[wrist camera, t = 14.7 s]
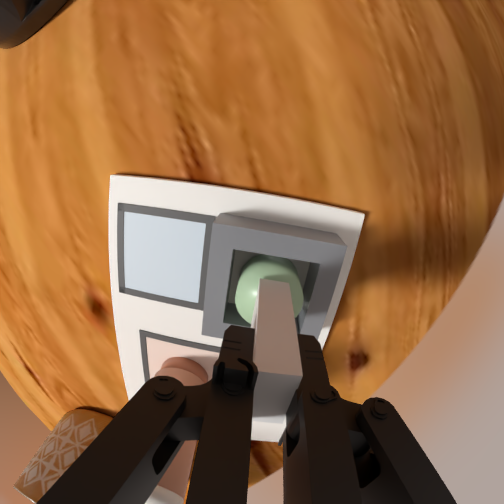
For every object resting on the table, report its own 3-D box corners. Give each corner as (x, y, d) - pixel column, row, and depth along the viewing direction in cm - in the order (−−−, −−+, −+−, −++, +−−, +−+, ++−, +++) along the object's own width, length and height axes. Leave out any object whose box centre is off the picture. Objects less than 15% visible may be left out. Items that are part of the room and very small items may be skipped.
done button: (235, 301, 17) (231, 323, 15) (244, 248, 16) (240, 264, 14) (291, 310, 17) (294, 332, 15) (304, 258, 16) (310, 275, 14)
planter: (89, 380, 23) (23, 495, 8) (214, 464, 28) (198, 567, 12) (49, 413, 28) (7, 482, 13) (141, 476, 33) (119, 546, 17)
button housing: (208, 314, 18) (201, 334, 16) (220, 212, 16) (212, 222, 14) (308, 329, 18) (313, 351, 16) (336, 233, 16) (347, 246, 14)
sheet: (134, 410, 24) (132, 414, 24) (115, 173, 16) (109, 175, 15) (280, 437, 24) (280, 442, 24) (361, 212, 16) (365, 214, 15)
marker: (160, 385, 21) (116, 499, 10) (158, 349, 20) (98, 479, 8) (209, 396, 21) (182, 519, 10) (212, 361, 20) (178, 505, 9)
